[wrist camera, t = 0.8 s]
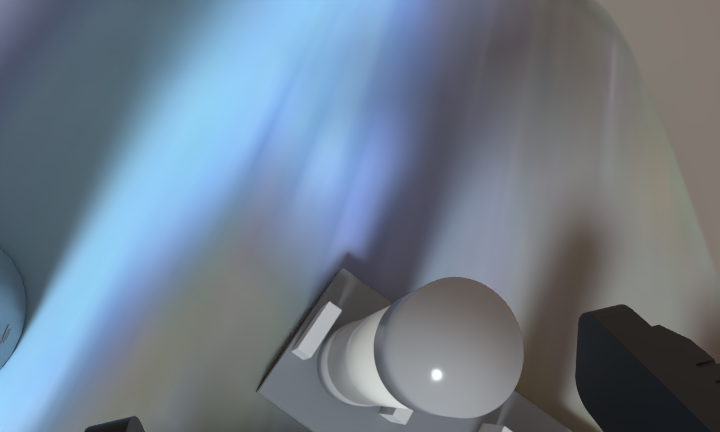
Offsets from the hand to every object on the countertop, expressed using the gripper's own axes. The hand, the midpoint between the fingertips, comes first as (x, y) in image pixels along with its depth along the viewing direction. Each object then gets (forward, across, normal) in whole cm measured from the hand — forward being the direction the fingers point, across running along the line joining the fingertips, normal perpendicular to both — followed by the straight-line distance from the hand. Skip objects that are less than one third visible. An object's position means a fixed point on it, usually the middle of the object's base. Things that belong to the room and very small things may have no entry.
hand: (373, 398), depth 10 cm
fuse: (+16, -1, +13) cm, 20 cm away
